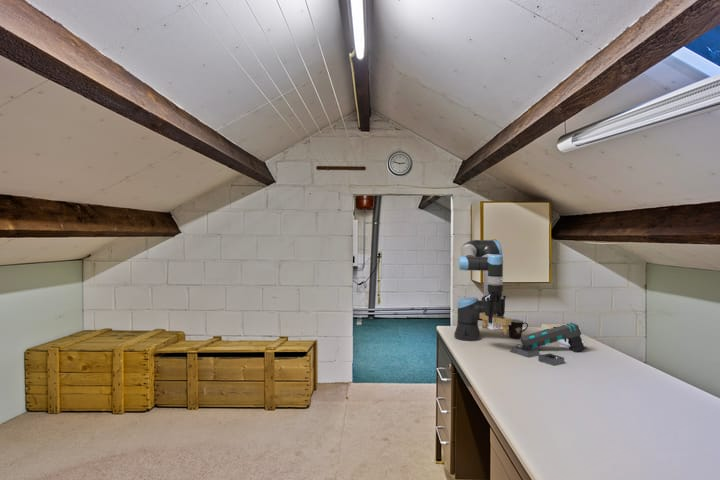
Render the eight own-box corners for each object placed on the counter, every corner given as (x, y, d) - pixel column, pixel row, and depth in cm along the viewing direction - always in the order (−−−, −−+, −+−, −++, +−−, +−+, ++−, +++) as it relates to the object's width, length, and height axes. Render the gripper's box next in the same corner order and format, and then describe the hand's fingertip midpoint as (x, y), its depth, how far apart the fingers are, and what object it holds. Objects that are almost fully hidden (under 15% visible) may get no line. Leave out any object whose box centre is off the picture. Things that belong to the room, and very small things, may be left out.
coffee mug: (507, 338, 237) (507, 321, 237) (507, 335, 245) (507, 318, 245) (529, 340, 233) (529, 323, 233) (527, 336, 242) (527, 320, 242)
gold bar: (479, 327, 220) (479, 312, 220) (485, 326, 222) (485, 312, 222) (505, 335, 204) (505, 319, 204) (511, 334, 206) (511, 318, 206)
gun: (587, 349, 210) (578, 321, 210) (531, 366, 212) (522, 338, 212) (581, 346, 216) (572, 319, 216) (527, 362, 218) (518, 335, 218)
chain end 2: (538, 360, 196) (538, 354, 196) (549, 358, 200) (549, 352, 200) (553, 365, 189) (553, 358, 189) (564, 363, 193) (564, 356, 193)
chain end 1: (510, 351, 211) (510, 344, 211) (521, 349, 215) (521, 343, 215) (528, 357, 202) (528, 350, 201) (539, 355, 205) (539, 348, 205)
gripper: (488, 286, 205) (488, 332, 206) (512, 284, 213) (512, 328, 214) (477, 284, 212) (477, 329, 213) (501, 282, 220) (501, 325, 220)
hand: (494, 328), depth 213 cm, fingers closed on gold bar, 4 cm apart
